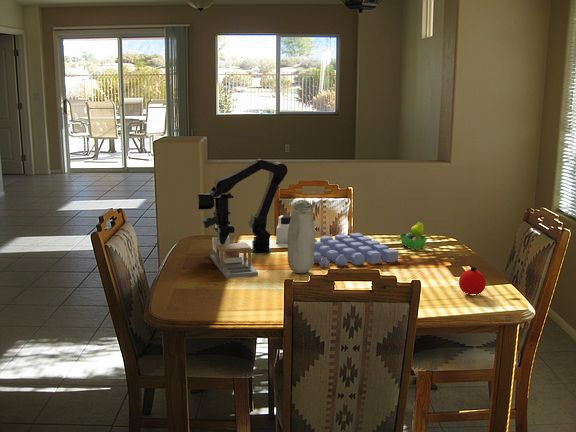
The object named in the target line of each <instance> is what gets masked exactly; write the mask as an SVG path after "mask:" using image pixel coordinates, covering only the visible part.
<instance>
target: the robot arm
mask: <svg viewBox="0 0 576 432" xmlns="http://www.w3.org/2000/svg"><path fill="white" fill-rule="evenodd" d="M261 170H264V171H267V172H269V173H268V183H267V185H266V188H265V191H264V193H263V196H262V199H261V202H260V203H259V206H258V209H257V212H256V213H255V214H254V215H253V214H251V215H250V219H249V221H248V222H247V224H248V230H249V231H250V232H251V233H252V234H253V240H252V244H251V245H252V246H251V251H253V252H254V253H255V254H269V253H271V250H270V238H271V233H270V232H269V231H267V229H266V228H267V225H268V224H267V223H268V222H267V221H268V215H269V212H270V209H271V207H272V203H273V201H274V198H275V196H276V194H277V190H278V188H279V185H280V184H281V183H282V182H283V181H284V179H285V177H286V176H287V174H288V167H287V165H286V164H284V163H283V162H280V161H275V162H271V161H268V160H264V159H261V158H257V159H256V160H254V161H252V162H251V163H249V164H247V165H245V166H244V167H242V168H241V169H239V170H236V171H235V172H233V173H232V174H227V175H224V176H221V177H218V178H216V179H215V180H214V182H213V186H212V188H211V189H210V191H209V192H207V193H202V192H198V193H197V195H196V210H197V211H205V210H213V208H214V210H213V213H212V214H210V215H207V216H206V217H203V218H201V219H200V221H201V223H202V226H203V227H204V228H205V229H208V228H209V227H210V226H211V227H212V226H215V227H213V230H215V232H217V235H218V236H217V237H219V239H220V243H221V244H225V242H226V239H227V237H228V236H229V235H230V234H234V233H235V227H234V226H233V225H232V224H231V221H230V215H231V211H230V199H234V198H235V197H234V196H233V195H232V194H231V192H230V191H231V190H232V189H233V188H234V187H235V186H236V185H237V184H238V183H239V182H242V181H243V180H245V179H246V178H248V177H250V176H252V175H255V173H257V172H259V171H261Z"/></svg>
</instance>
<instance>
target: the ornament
mask: <svg viewBox="0 0 576 432" xmlns="http://www.w3.org/2000/svg"><path fill="white" fill-rule="evenodd" d="M458 285H459V288H460V290H461V291H462V293H464V292H465V293H468V294H479V293H480V294H482V293H483V292H484V290H485V288H486V285H487V281H486V278H485V275H484V274H483V273H482V272H480V271H479V270H477V267H475V266H471V267H470V269H467V270H466V271H463V272H462V274H461V275H460V276H459V280H458ZM481 292H482V293H481ZM465 293H464V294H465ZM480 294H479V295H480Z"/></svg>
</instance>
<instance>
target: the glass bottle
mask: <svg viewBox="0 0 576 432" xmlns="http://www.w3.org/2000/svg"><path fill="white" fill-rule="evenodd" d="M290 216H291V220H290V224H289V228H288V244H287V263H288V267H289V268H290V270H291V271H292V272H293V273H294V274H295V273H296V274H306V273H308V272H310V271H311V269H312V268H313V266H314V264H315V263H314V247H315V239H316V231H315V224H314V219H313V209H312V205H311V203H310V202H309V201H308V200H306V199H300V200H295V202H294V203H293V204H292V207H291V214H290Z"/></svg>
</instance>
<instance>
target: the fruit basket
mask: <svg viewBox="0 0 576 432" xmlns="http://www.w3.org/2000/svg"><path fill="white" fill-rule="evenodd" d="M424 229H425V226H424V223H423V222H421V221H418V222H416V223H415V225H413V226H411V228H410V230H411V232H407V233H402V234H399V237H400V241H401V246H402V245H405V246H407V247H410V248H413V249H416V248H422V247H424V248H425V245H426V242H427V240H428V238H427V237H425V236H423V234H424ZM407 247H406V248H407Z"/></svg>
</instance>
